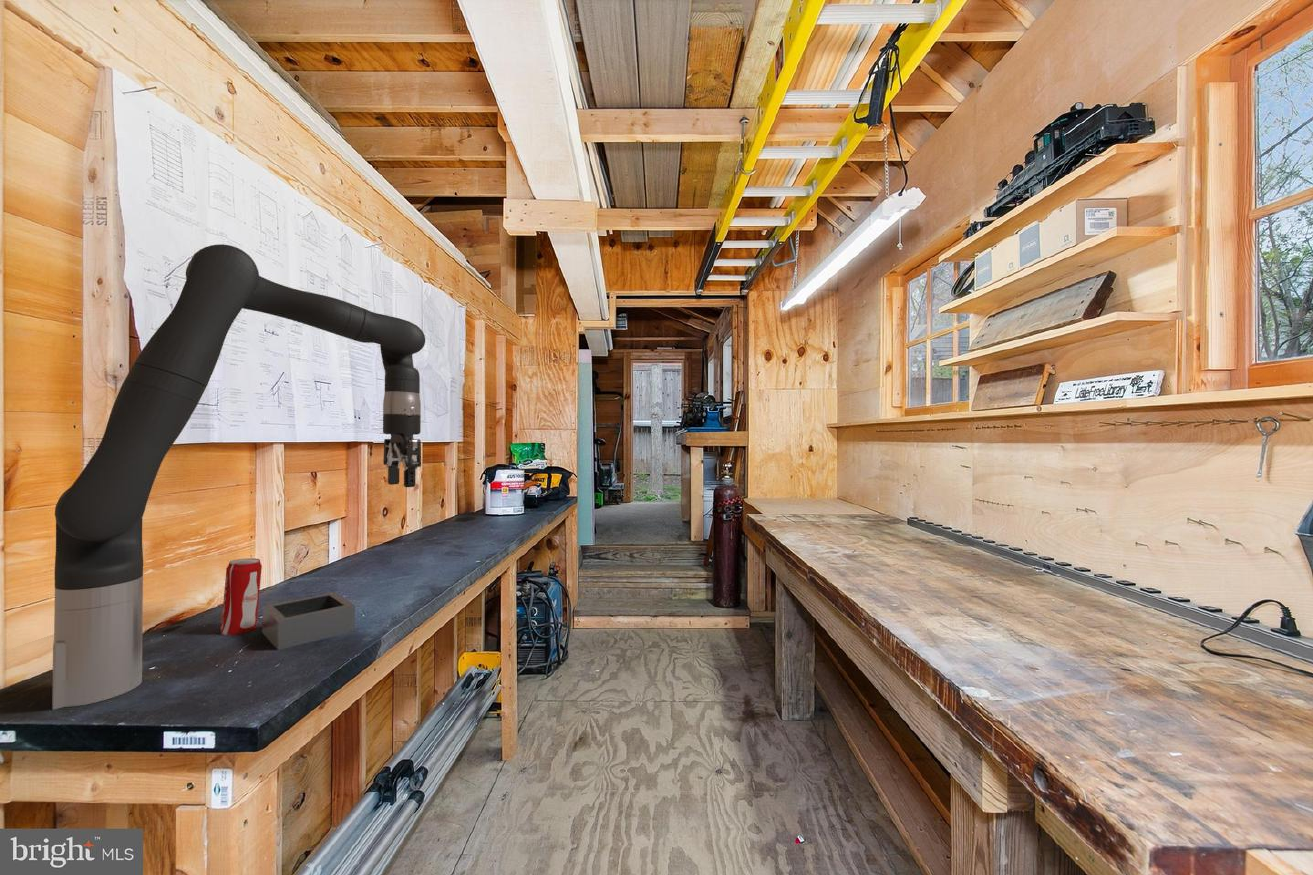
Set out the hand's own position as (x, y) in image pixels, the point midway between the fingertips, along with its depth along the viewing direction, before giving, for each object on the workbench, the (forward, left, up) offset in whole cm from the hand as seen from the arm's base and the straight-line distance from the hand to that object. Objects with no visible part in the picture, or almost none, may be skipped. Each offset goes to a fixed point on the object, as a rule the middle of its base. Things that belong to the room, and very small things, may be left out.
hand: (401, 485), depth 112 cm
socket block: (-16, +6, -30) cm, 35 cm away
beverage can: (-25, +18, -30) cm, 43 cm away
